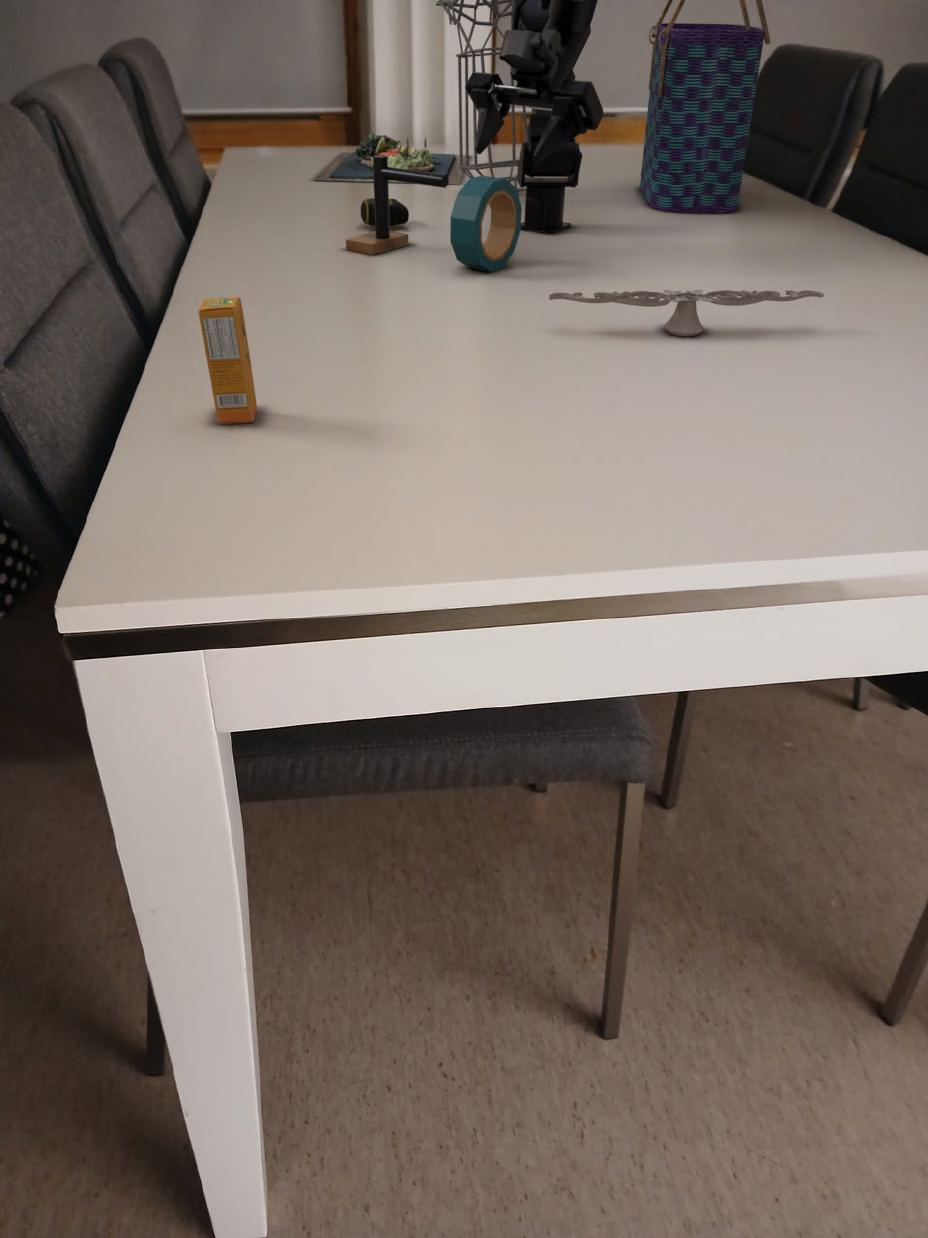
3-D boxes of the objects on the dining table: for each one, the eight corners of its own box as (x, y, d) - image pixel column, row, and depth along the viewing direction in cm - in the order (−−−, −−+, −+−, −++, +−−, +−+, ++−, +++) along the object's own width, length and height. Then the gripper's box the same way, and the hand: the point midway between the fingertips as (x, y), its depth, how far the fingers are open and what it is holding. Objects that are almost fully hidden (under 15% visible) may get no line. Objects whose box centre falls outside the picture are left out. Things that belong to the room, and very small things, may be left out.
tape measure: (410, 229, 148) (410, 203, 146) (366, 232, 146) (365, 205, 144) (399, 220, 153) (398, 195, 151) (356, 222, 152) (355, 197, 150)
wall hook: (823, 340, 106) (833, 301, 104) (549, 339, 104) (553, 300, 101) (808, 325, 110) (817, 287, 107) (543, 323, 108) (546, 285, 105)
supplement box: (218, 410, 86) (203, 295, 80) (257, 409, 86) (245, 295, 81) (213, 424, 83) (197, 307, 77) (254, 424, 83) (240, 306, 78)
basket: (748, 214, 161) (797, -82, 139) (643, 211, 162) (675, -83, 140) (721, 186, 183) (759, -74, 161) (629, 184, 183) (654, -75, 161)
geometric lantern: (528, 188, 178) (518, -38, 163) (562, 190, 165) (555, -57, 149) (447, 197, 174) (429, -35, 159) (475, 199, 161) (458, -53, 145)
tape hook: (382, 245, 139) (379, 154, 132) (449, 258, 133) (449, 163, 127) (373, 248, 138) (369, 156, 131) (440, 261, 132) (440, 165, 125)
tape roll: (496, 257, 134) (499, 171, 128) (519, 261, 132) (523, 174, 126) (450, 273, 126) (450, 182, 120) (473, 278, 125) (475, 186, 119)
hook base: (381, 239, 142) (381, 229, 141) (408, 244, 140) (408, 233, 139) (346, 249, 137) (345, 238, 136) (373, 255, 134) (372, 243, 133)
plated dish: (462, 184, 181) (462, 140, 177) (314, 183, 182) (310, 140, 178) (469, 157, 210) (469, 119, 206) (341, 157, 211) (339, 119, 207)
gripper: (474, 0, 124) (422, 104, 123) (600, 4, 115) (545, 117, 114) (506, 66, 134) (458, 163, 133) (625, 75, 125) (574, 180, 124)
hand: (506, 155), depth 126 cm, fingers open, 9 cm apart
